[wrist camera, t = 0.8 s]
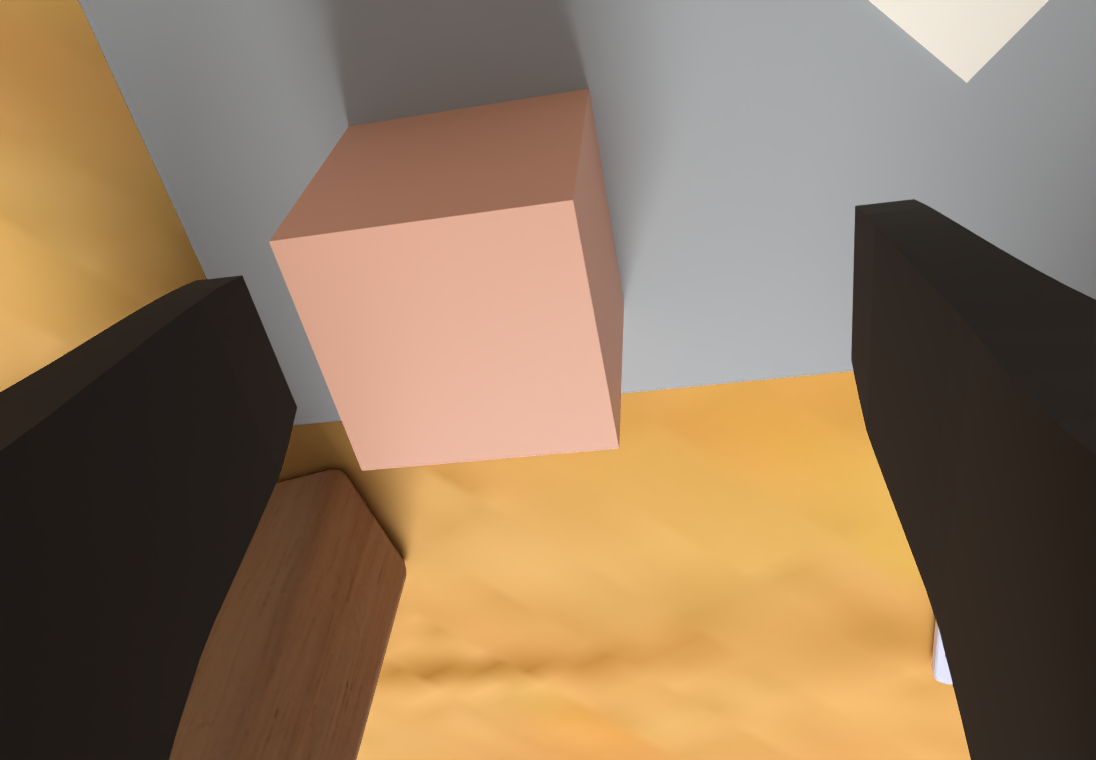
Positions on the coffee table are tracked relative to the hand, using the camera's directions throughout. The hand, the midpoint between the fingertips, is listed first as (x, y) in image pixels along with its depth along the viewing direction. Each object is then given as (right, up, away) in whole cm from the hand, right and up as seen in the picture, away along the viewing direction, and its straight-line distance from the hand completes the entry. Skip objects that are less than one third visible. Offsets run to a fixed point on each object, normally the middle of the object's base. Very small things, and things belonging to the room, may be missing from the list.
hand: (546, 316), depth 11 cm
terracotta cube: (-1, +3, +9) cm, 9 cm away
